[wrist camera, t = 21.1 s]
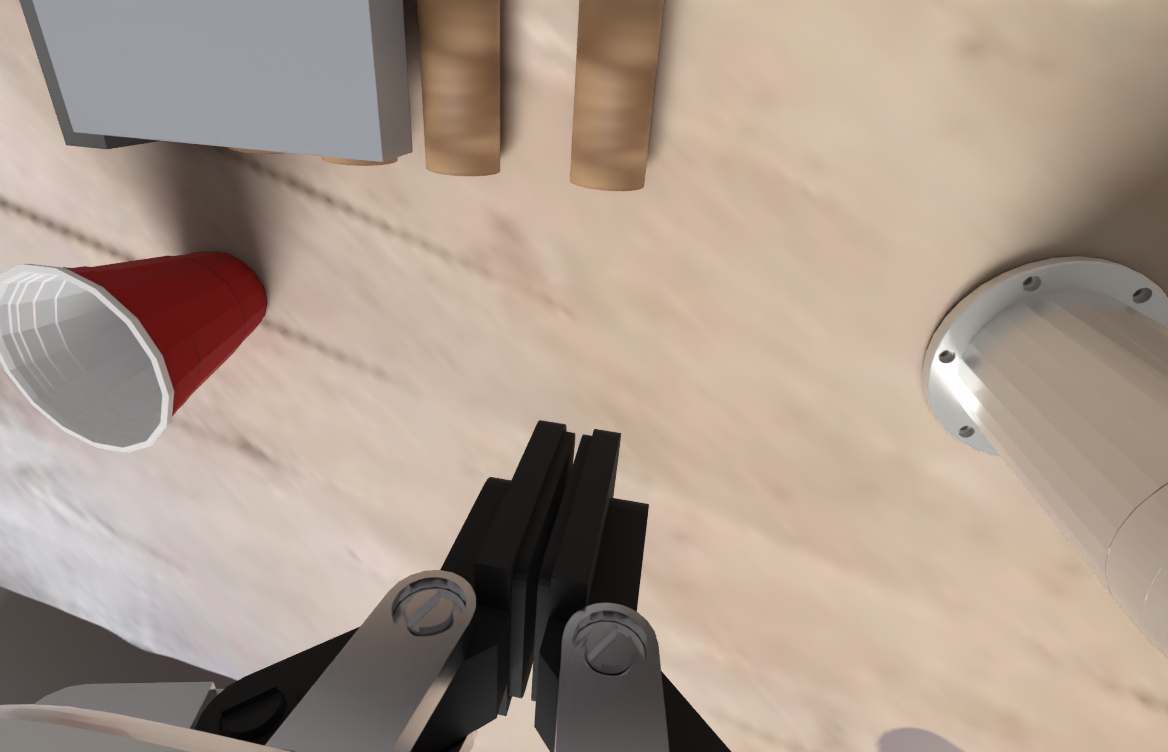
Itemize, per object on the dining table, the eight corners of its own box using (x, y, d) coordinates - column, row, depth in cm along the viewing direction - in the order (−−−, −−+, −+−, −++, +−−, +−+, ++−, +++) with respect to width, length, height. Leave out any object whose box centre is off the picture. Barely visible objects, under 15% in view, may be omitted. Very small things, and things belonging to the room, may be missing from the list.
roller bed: (675, -84, 28) (673, -104, 25) (646, 179, 34) (641, 193, 31) (315, -102, 30) (266, -123, 27) (344, 151, 36) (307, 161, 32)
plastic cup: (140, 192, 39) (-60, 241, 29) (299, 235, 39) (155, 300, 28) (161, 339, 44) (-2, 426, 34) (300, 377, 44) (180, 477, 34)
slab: (396, -89, 26) (358, -108, 23) (412, 151, 31) (382, 162, 28) (68, -106, 28) (-8, -126, 25) (131, 125, 33) (73, 131, 30)
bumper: (133, -111, 31) (21, -146, 26) (190, 136, 37) (107, 149, 32) (91, -114, 31) (-29, -148, 26) (154, 132, 37) (66, 145, 32)
